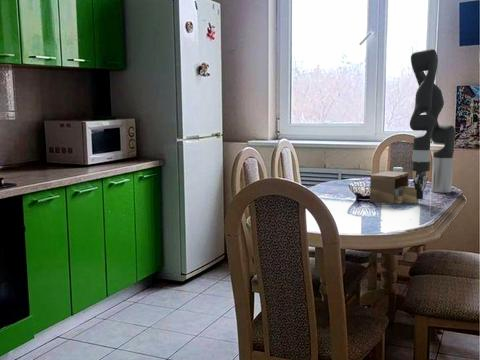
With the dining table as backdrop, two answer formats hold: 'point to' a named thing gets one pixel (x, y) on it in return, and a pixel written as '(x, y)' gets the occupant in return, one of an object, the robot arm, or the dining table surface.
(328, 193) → the dining table surface
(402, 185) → the brown cardboard box
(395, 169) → the supplement bottle
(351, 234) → the dining table surface
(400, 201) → the tray
